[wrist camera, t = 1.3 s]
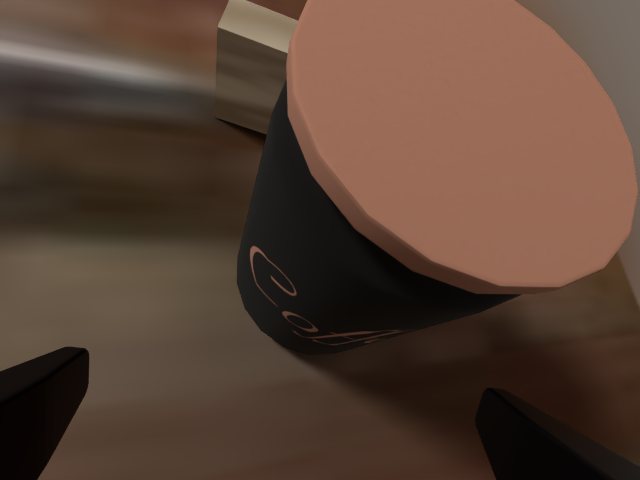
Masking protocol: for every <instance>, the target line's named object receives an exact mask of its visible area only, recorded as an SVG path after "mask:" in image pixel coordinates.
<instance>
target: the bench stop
mask: <svg viewBox="0 0 640 480" xmlns="http://www.w3.org/2000/svg"><path fill="white" fill-rule="evenodd" d="M297 23H298V21H297V20H294V19H292V18H289V17H287V16H284V15H282V14H279V13H277V12H274V11H272V10H269V9H267V8H264V7H261V6H259V5H256V4H254V3H251V2H249V1H246V0H229V2H228V5H227V7H226V9H225V11H224V14H223V16H222V18H221V20H220V23H219V25H218V31H217V63H216V96H215V117H216V118H219V119H222V120H225V121H228V122H231V123H234V124H237V125H240V126H243V127H246V128H249V129H252V130H255V131H258V132H261V133H264V134H267V131H268V127H269V123H270V119H271V115H272V112H273V109H274V107H275V104H276V102H277V100H278V97H279V95H280V92H281V90H282V88H283V85H284V83H285V80H286V78H287V69H286V63H287V56H288V48H289V42H290V39H291V37H292V35H293V33H294V30H295V28H296V26H297Z"/></svg>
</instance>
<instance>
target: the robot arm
mask: <svg viewBox="0 0 640 480" xmlns="http://www.w3.org/2000/svg"><path fill="white" fill-rule="evenodd" d="M88 383H89V352H88V350H87V349H85V348H77V347H64V348H61V349H58V350H56V351H53V352H50V353H48V354H45V355H42V356H40V357H37V358H35V359H32V360H29V361H27V362H24V363H21V364H19V365H16V366H13V367H11V368H8V369H6V370H3V371H0V480H37V479H38V478H39V476H40V474H41V473H42V471H43V470H44V468H45V467H46V465H47V463H48V462H49V460H50V458H51V456H52V455H53V453H54V451H55V449H56V447H57V446H58V444H59V442H60V440H61V438H62V436H63V435H64V433H65V431H66V429H67V427H68V425H69V424H70V422H71V420H72V418H73V416H74V414H75V413H76V411H77V409H78V407H79V405H80V403H81V402H82V400H83V398H84V396H85V394H86V391H87V388H88ZM475 423H476V428H477V431H478V433H479V436H480V438H481V441H482V444H483V446H484V449H485V452H486V454H487V457H488V459H489V462H490V465H491V467H492V470H493V472H494V475H495V478H496V480H640V467H639V466H638V465H636V464H634V463H632V462H631V461H629V460H627V459H625V458H624V457H622V456H620V455H618V454H617V453H615V452H613V451H611V450H610V449H608V448H606V447H604V446H603V445H601V444H599V443H597V442H596V441H594V440H592V439H590V438H589V437H587V436H585V435H583V434H581V433H580V432H578V431H576V430H574V429H573V428H571V427H569V426H567V425H566V424H564V423H562V422H560V421H559V420H557V419H555V418H553V417H552V416H550V415H548V414H546V413H545V412H543V411H541V410H539V409H538V408H536V407H534V406H532V405H531V404H529V403H527V402H525V401H524V400H522V399H520V398H518V397H517V396H515V395H513V394H511V393H510V392H508V391H506V390H504V389H498V388H487V389H485V390H484V392H483V394H482V398H481V401H480V404H479V407H478V410H477V413H476V418H475Z"/></svg>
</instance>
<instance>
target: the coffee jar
mask: <svg viewBox="0 0 640 480" xmlns="http://www.w3.org/2000/svg"><path fill="white" fill-rule="evenodd" d="M286 69H287V78H286V80H285V83H284V85H283V88H282V90H281V92H280V95H279V97H278V100H277V102H276V104H275V107H274V109H273V112H272V115H271V119H270V123H269V127H268V131H267V136H266V140H265V144H264V148H263V152H262V157H261V161H260V165H259V169H258V174H257V178H256V182H255V186H254V190H253V195H252V199H251V203H250V207H249V212H248V216H247V220H246V224H245V228H244V233H243V237H242V241H241V245H240V249H239V254H238V261H237V285H238V288H239V291H240V294H241V297H242V301H243V304H244V307H245V309H246V310H247V312H248V313H249V315H250V316H251V317H252V319H253V320H254V321H255V323H256V324H257V326H258V327H259V328H260V330H261V331H263V332H264V333H265V334H267V335H268V336H270V337H271V338H272V339H274V340H275V341H276V342H278V343H279V344H281V345H282V346H284V347H287V348H290V349H294V350H297V351H300V352H303V353H307V354H326V353H337V352H340V351H344V350H348V349H351V348H355V347H358V346H362V345H365V344H369V343H372V342H376V341H380V340H383V339H387V338H390V337H394V336H397V335H401V334H405V333H408V332H412V331H415V330H419V329H422V328H426V327H429V326H433V325H437V324H440V323H444V322H447V321H451V320H454V319H458V318H462V317H465V316H469V315H472V314H476V313H479V312H482V311H485V310H487V309H489V308H492V307H494V306H496V305H499V304H501V303H503V302H506V301H508V300H510V299H513V298H515V297H517V296H520V295H521V294H537V293H543V292H549V291H554V290H558V289H560V288H562V287H565V286H567V285H569V284H571V283H574V282H576V281H578V280H580V279H583V278H585V277H587V276H589V275H592V274H594V273H596V272H598V271H601V270H602V269H603V268H604V267H605V266H606V265H607V264H608V262H609V261H610V260H611V258H612V257H613V256H614V254H615V253H616V252H617V250H618V249H619V248H620V246H621V245H622V244H623V242H624V241H625V240H626V239H627V237H628V236H629V235H630V232H631V227H632V222H633V217H634V212H635V207H636V202H637V197H638V185H637V179H636V172H635V165H634V159H633V152H632V147H631V144H630V142H629V140H628V137H627V135H626V132H625V130H624V128H623V125H622V123H621V121H620V119H619V116H618V114H617V111H616V109H615V107H614V104H613V103H612V101H611V100H610V98H609V97H608V95H607V94H606V92H605V91H604V89H603V88H602V87H601V85H600V84H599V82H598V81H597V79H596V78H595V76H594V75H593V73H592V72H591V70H590V69H589V67H588V66H587V65H586V63H585V62H584V61H583V60H582V59H581V58H580V57H579V56H578V55H577V54H576V53H575V52H574V51H573V50H572V49H571V48H570V47H569V46H568V44H567V43H566V42H565V41H563V39H562V38H561V37H560V36H559V35H558V34H557V33H556V32H555V31H554V30H553V29H552V28H551V27H549V26H548V25H547V24H545V23H544V22H543V21H541V20H540V19H539V18H537V17H536V16H535V15H533V14H532V13H531V12H529V11H528V10H527V9H525V8H524V7H522V6H521V5H520V4H519V3H517V2H516V1H514V0H308V1H307V3H306V5H305V7H304V10H303V12H302V14H301V17H300V19H299V21H298V23H297V26H296V28H295V30H294V33H293V35H292V37H291V39H290V42H289V48H288V56H287V63H286Z"/></svg>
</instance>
